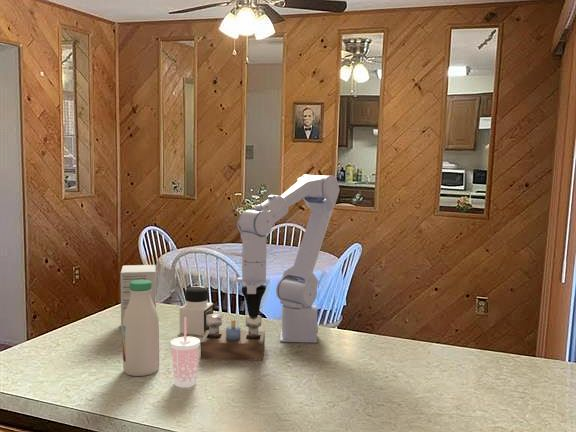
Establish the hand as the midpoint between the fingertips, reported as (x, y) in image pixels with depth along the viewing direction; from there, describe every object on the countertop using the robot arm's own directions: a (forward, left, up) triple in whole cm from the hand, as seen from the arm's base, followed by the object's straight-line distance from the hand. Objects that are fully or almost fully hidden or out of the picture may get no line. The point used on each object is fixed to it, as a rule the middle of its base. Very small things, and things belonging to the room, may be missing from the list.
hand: (253, 316), depth 129 cm
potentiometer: (+5, +1, -5) cm, 7 cm away
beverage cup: (+13, +18, -9) cm, 24 cm away
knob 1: (+10, 0, -6) cm, 11 cm away
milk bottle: (+24, +12, -9) cm, 28 cm away
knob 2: (0, 0, -6) cm, 6 cm away
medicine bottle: (+17, -16, -9) cm, 25 cm away
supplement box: (+33, -17, -10) cm, 38 cm away
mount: (+5, 0, -9) cm, 10 cm away
